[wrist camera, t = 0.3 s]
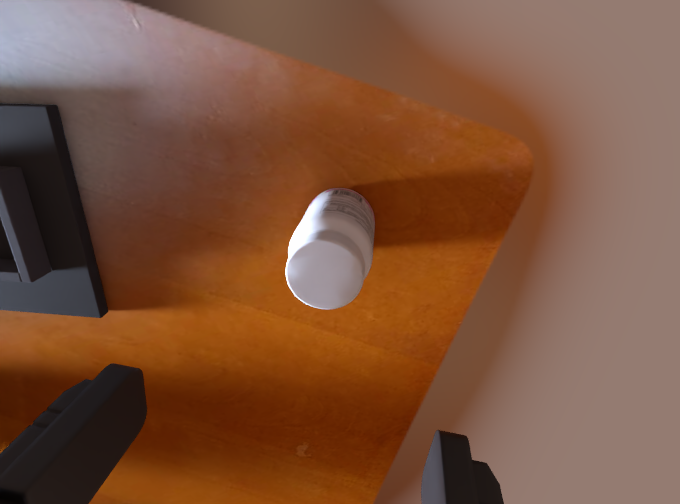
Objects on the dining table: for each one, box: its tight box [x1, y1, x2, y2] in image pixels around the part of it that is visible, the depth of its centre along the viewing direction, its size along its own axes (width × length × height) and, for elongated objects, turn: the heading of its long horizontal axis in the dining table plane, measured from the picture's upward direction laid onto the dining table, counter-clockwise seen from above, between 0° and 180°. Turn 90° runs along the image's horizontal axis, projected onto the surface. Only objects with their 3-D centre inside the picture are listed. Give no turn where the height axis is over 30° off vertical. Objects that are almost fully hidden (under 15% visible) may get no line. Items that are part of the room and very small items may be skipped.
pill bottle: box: [286, 188, 375, 309], centre depth 24 cm, size 5×5×8 cm
